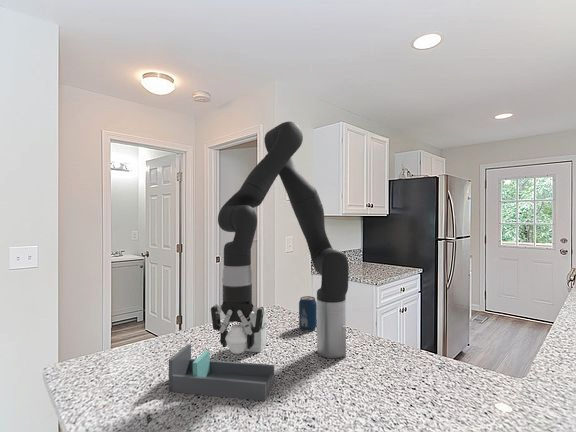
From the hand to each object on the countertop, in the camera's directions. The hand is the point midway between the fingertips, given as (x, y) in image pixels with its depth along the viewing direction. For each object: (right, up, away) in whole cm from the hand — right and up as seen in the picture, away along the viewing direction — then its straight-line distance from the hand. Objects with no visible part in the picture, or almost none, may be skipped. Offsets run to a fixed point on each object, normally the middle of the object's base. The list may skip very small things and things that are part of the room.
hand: (237, 346), depth 83 cm
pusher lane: (-4, -10, +1) cm, 11 cm away
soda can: (+21, -11, +43) cm, 49 cm away
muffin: (0, -1, 0) cm, 1 cm away
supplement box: (+2, -11, +25) cm, 27 cm away
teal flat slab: (-10, -9, +2) cm, 13 cm away
